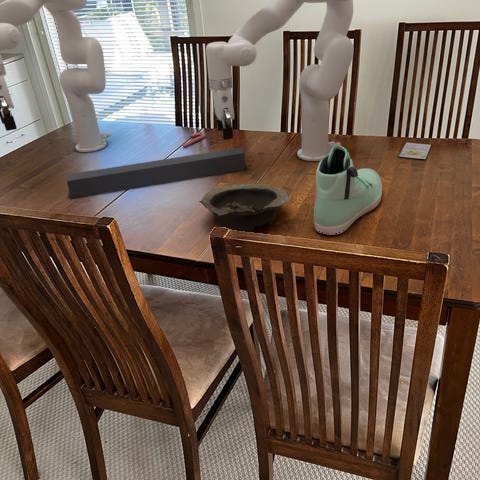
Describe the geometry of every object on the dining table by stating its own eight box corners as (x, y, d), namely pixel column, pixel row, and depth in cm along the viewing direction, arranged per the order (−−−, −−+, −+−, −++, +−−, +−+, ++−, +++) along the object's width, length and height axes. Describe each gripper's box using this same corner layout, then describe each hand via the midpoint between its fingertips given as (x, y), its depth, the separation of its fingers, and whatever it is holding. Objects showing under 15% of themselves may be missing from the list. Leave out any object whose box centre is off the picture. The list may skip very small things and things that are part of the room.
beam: (71, 198, 158) (66, 181, 155) (72, 191, 163) (67, 174, 160) (245, 169, 169) (244, 152, 165) (241, 163, 173) (240, 147, 170)
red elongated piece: (173, 146, 194) (173, 142, 193) (197, 134, 204) (196, 131, 203) (185, 148, 191) (184, 144, 190) (208, 136, 201) (207, 132, 200)
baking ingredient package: (399, 155, 168) (406, 141, 179) (398, 156, 168) (406, 143, 179) (425, 158, 164) (431, 144, 176) (425, 159, 164) (431, 145, 176)
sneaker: (389, 187, 148) (396, 123, 138) (356, 242, 123) (361, 168, 112) (346, 181, 154) (350, 119, 144) (306, 232, 129) (307, 161, 118)
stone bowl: (227, 251, 123) (222, 218, 119) (191, 218, 143) (186, 190, 139) (307, 222, 132) (305, 191, 128) (262, 196, 152) (259, 168, 148)
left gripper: (9, 73, 141) (26, 130, 150) (1, 65, 154) (17, 118, 163) (-19, 77, 138) (0, 135, 147) (-24, 69, 151) (-7, 122, 160)
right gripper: (238, 88, 148) (242, 141, 157) (226, 76, 162) (230, 125, 171) (214, 91, 147) (219, 144, 156) (204, 79, 161) (209, 128, 170)
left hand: (9, 126), depth 155 cm, fingers open, 9 cm apart
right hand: (225, 134), depth 163 cm, fingers open, 9 cm apart
